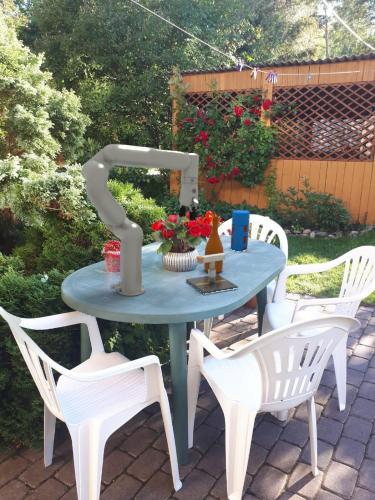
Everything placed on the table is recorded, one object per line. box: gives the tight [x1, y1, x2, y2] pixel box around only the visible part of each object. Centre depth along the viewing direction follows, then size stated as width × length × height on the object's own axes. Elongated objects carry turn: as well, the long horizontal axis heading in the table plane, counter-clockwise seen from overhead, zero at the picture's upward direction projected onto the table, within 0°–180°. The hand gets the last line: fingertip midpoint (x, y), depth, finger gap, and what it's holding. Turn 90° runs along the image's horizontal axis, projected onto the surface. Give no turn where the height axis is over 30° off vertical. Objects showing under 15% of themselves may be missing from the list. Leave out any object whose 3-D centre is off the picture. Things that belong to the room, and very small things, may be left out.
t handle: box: [196, 252, 226, 270], centre depth 174 cm, size 3×14×7 cm, turn 120°
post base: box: [185, 269, 239, 294], centre depth 177 cm, size 18×18×8 cm
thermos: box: [230, 209, 251, 252], centre depth 239 cm, size 11×11×25 cm
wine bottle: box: [203, 214, 224, 274], centre depth 195 cm, size 10×10×30 cm
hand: (187, 218), depth 174 cm, fingers open, 9 cm apart
